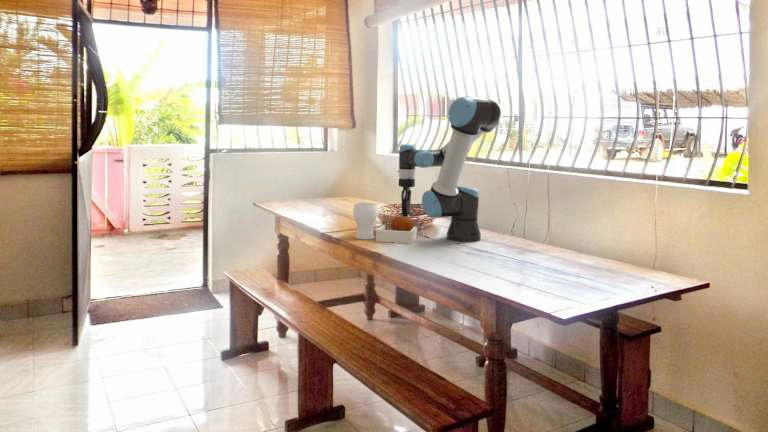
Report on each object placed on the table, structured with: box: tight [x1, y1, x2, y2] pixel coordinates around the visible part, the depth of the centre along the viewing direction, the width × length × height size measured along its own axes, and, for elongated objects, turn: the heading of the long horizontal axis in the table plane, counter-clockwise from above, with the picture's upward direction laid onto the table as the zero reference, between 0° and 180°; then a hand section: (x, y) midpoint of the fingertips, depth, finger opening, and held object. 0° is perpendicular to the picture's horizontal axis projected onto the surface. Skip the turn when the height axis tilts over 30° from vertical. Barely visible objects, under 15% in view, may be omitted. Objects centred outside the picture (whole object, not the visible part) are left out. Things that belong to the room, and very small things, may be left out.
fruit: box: [390, 215, 415, 231], centre depth 286 cm, size 11×10×8 cm
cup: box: [352, 202, 379, 240], centre depth 274 cm, size 11×11×15 cm
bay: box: [375, 219, 419, 245], centre depth 273 cm, size 16×16×7 cm
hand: (405, 228), depth 294 cm, fingers closed
